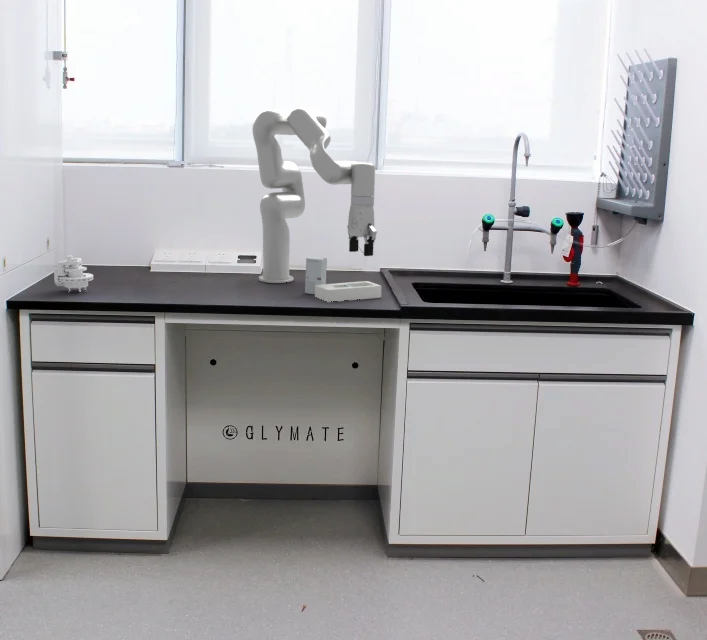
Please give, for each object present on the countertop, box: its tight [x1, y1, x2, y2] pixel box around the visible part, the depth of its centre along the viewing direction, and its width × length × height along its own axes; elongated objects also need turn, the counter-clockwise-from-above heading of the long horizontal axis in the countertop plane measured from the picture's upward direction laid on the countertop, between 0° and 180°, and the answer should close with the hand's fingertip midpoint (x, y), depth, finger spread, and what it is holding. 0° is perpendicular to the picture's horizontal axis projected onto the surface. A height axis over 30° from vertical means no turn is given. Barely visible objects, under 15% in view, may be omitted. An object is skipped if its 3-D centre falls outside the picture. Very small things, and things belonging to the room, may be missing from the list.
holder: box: [314, 280, 382, 303], centre depth 261 cm, size 9×20×4 cm, turn 119°
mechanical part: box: [53, 254, 94, 293], centre depth 258 cm, size 11×12×12 cm
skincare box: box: [304, 256, 328, 295], centre depth 265 cm, size 6×4×12 cm
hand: (360, 253), depth 261 cm, fingers open, 9 cm apart
